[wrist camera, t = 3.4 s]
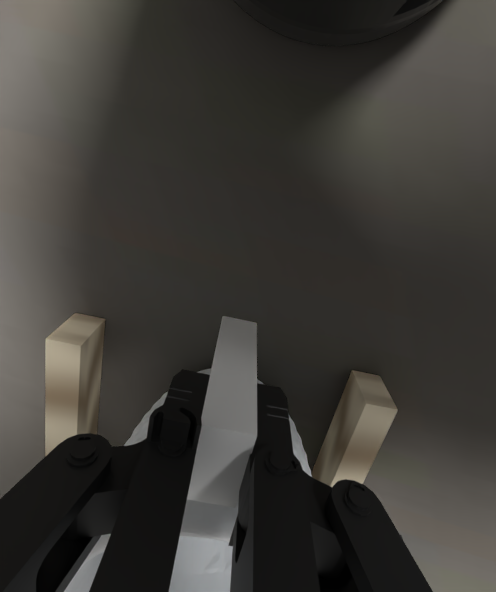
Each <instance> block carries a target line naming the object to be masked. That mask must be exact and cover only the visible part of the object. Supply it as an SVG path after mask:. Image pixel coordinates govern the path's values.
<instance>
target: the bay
mask: <svg viewBox="0 0 496 592" xmlns="http://www.w3.org/2000/svg"><path fill="white" fill-rule="evenodd" d="M104 332H105V319H103V318H98V317H93V316H88V315H84V314H79V313H74V314H73V315H72V316H71V317H70V318H69V319H67V320H66V321H65V322H64V323H63V324H62V325H61V326H59V327H58V328H57V329H56V330H55V331H54V332H53V333H51V334H50V335H49V336H48V337H47V338H46V347H45V457H46V456H47V455H48V454H49V453H50V452H51V451H52V450H53V449H54V448H55V447H56V446H57V445H58V444H60V443H61V442H63V441H64V440H66V439H67V438H69V437H72V436H75V435H78V434H87V433H91V434H96V435H97V426H98V413H99V399H100V386H101V372H102V359H103V345H104ZM397 411H398V409H397V407H396V405H395V403H394V401H393V400H392V398H391V396H390V394H389V392H388V390H387V388H386V387H385V385H384V383H383V381H382V379H381V377H380V376H378V375H373V374H369V373H364V372H359V371H354V370H352V371H351V374H350V376H349V379H348V381H347V384H346V386H345V389H344V392H343V394H342V397H341V399H340V402H339V404H338V407H337V409H336V412H335V414H334V417H333V419H332V422H331V424H330V427H329V430H328V432H327V435H326V437H325V440H324V442H323V445H322V447H321V450H320V452H319V455H318V457H317V460H316V462H315V465H314V467H313V470H312V473H311V475H312V477H313V478H314V479H316V480H318V481H320V482H322V483H325V484H327V485H329V486H331V487H333V486H334V484H335V483H336V482H337V481H340V480H344V479H347V480H354V481H357V482H359V483H361V484H363V482H364V480H365V478H366V476H367V474H368V472H369V470H370V468H371V466H372V463H373V461H374V459H375V457H376V455H377V453H378V451H379V449H380V447H381V445H382V443H383V440H384V438H385V436H386V434H387V432H388V430H389V428H390V426H391V424H392V422H393V420H394V418H395V415H396V413H397Z"/></svg>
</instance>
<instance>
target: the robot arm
mask: <svg viewBox="0 0 496 592" xmlns="http://www.w3.org/2000/svg"><path fill="white" fill-rule="evenodd" d="M234 1H235V2H236V3H237V4H238V5H239V6H240V7H241V8H242V9H243V10H244V11H246V12H247V13H248V14H249V15H250V16H252V17H253V18H254V19H256V20H257V21H258V22H260V23H261V24H263V25H265V26H266V27H268V28H270V29H271V30H273V31H275V32H277V33H279V34H282V35H284V36H286V37H289V38H292V39H295V40H298V41H301V42H306V43H311V44H317V45H329V46H340V45H352V44H358V43H363V42H367V41H372V40H375V39H378V38H381V37H384V36H386V35H389V34H391V33H394V32H396V31H398V30H400V29H402V28H404V27H406V26H408V25H409V24H411V23H413V22H414V21H416V20H418V19H419V18H421V17H422V16H424V15H425V14H426V13H428V12H429V11H431V10H432V9H433V8H434V7H436V6H437V5H438V4H439V3H441V2H442V1H443V0H234ZM238 499H239V504H238V515H237V518H236V521H235V525H234V528H233V531H232V535H231V538H230V542H229V545H228V546H233V551H232V567H231V583H230V592H433V591H432V590H431V588H430V586H429V584H428V583H427V581H426V579H425V577H424V576H423V574H422V572H421V571H420V569H419V567H418V565H417V564H416V562H415V560H414V559H413V557H412V555H411V553H410V552H409V550H408V548H407V547H406V545H405V543H404V541H403V540H402V538H401V536H400V535H399V533H398V531H397V529H396V528H395V526H394V524H393V523H392V521H391V519H390V517H389V516H388V514H387V512H386V511H385V509H384V507H383V505H382V504H381V502H380V501H379V499H378V498H377V497H376V495H375V494H374V493H373V492H372V491H371V490H370V489H368V488H367V487H366V486H365V485H363V484H361V483H359V482H357V481H354V480H347V479H344V480H340V481H337V482H336V483H335V484H334V486H333V487H331V486H329V485H327V484H325V483H322V482H320V481H318V480H316V479H314V478H313V477H311V476H309V475H308V474H307V473H306V472H305V471H303V469H302V466H301V463H300V461H299V460H298V459H297V458H296V456H295V455H294V453H293V445H292V437H291V429H290V421H289V413H288V405H287V398H286V396H285V395H284V393H283V392H282V390H281V389H280V388H279V387H274V386H269V385H264V384H259V383H257V323H255V322H251V321H246V320H241V319H236V318H231V317H227V316H222V321H221V326H220V330H219V335H218V340H217V344H216V349H215V354H214V358H213V363H212V368H211V372H210V375H208V374H203V373H198V372H193V371H188V370H183V369H182V370H181V371H180V372H179V373H178V374H176V375H175V376H174V377H173V380H172V382H171V385H170V388H169V390H168V393H167V396H166V399H165V401H164V404H163V405H162V406H160V407H158V408H157V409H155V410H154V411H153V412H152V414H151V415H150V418H149V425H148V432H147V438H146V439H144V440H143V441H141V442H139V443H136V444H133V445H128V446H119V447H111V445H110V444H109V442H108V440H106V439H105V438H103V437H102V436H100V435H96V434H91V433H87V434H78V435H75V436H72V437H69V438H67V439H66V440H64V441H63V442H61V443H60V444H58V445H57V446H56V447H55V448H54V449H53V450H52V451H51V452H50V453H49V454H48V455H47V456H46V457H45V458H44V459H42V460H41V461H40V462H39V463H38V464H37V465H36V466H35V467H34V468H33V469H32V470H31V471H30V472H29V473H28V474H27V475H25V476H24V477H23V478H22V479H21V480H20V481H19V482H18V483H17V484H16V485H15V486H14V487H13V488H12V489H11V490H10V491H8V492H7V493H6V494H5V495H4V496H3V497H2V498H1V499H0V592H64V591H65V589H66V588H67V586H68V585H69V583H70V582H71V580H72V579H73V577H74V576H75V574H76V573H77V571H78V570H79V568H80V567H81V565H82V564H83V562H84V561H85V560H86V558H87V557H88V555H89V554H90V552H91V551H92V549H93V548H94V546H95V545H96V543H97V542H98V540H99V539H100V537H101V535H106V534H111V535H110V538H109V540H108V543H107V546H106V548H105V551H104V554H103V556H102V559H101V561H100V564H99V567H98V569H97V572H96V575H95V577H94V580H93V583H92V585H91V588H90V591H89V592H169V587H170V582H171V577H172V572H173V567H174V562H175V557H176V552H177V547H178V542H179V537H180V532H181V526H182V521H183V516H184V511H185V506H186V501H187V500H193V501H199V502H205V503H210V504H216V505H222V506H227V507H233V508H236V505H237V502H238Z"/></svg>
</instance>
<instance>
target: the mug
mask: <svg viewBox="0 0 496 592" xmlns="http://www.w3.org/2000/svg"><path fill="white" fill-rule="evenodd" d="M210 372H211V369H205V370H202V371H198V373H203V374H208V375H210ZM257 383H259V384H263V383H262V382H261V381H259V380H258V379H257ZM264 385H265V384H264ZM167 393H168V391H167V392H166V393H164V394H163V395H162V397H161V398H160V399H159V400H158V401H157V402H156V403H155V404H153V406H152V408H151V409H150V410H149V412H147V413H146V414H145V415H144V417H143V419H142V421H141V422H140V423H139V424H138V425H137V426H136V428H135V429H134V431H133V433H132V435H131V437H130V438H129V439H128V440H127V442H126V443H125V444H124V446H128V445H133V444H136V443H139V442H141V441H143V440H144V439H146V438H147V432H148V425H149V418H150V415H151V414H152V412H153V411H154V410H155V409H157V408H158V407H160V406H162V405H163V404H164V401H165V399H166V396H167ZM289 421H290V429H291V437H292V445H293V453H294V455H295V456H296V458H297V459H298V460H299V461H300V463H301V466H302V469H303V471H305V472H306V473H307V474H308V475H309V476H311V477H312V475H311V470H310V468H309V465H308V461H307V454H306V452H305V451H304V448H303V446H302V440H301V438H300V435H299V434H298V432H297V430H296V426H295V424H294V422H293V420H292V419H291V418H290V416H289ZM238 504H239V499H238V502H237V505H236V508H233V507H227V506H222V505H216V504H210V503H205V502H199V501H193V500H187V501H186V506H185V511H184V516H183V521H182V526H181V532H180V537H179V542H178V547H177V552H176V557H175V562H174V567H173V572H172V577H171V582H170V587H169V592H230V583H231V567H232V551H233V546H228V545H229V542H230V538H231V535H232V531H233V528H234V525H235V521H236V518H237V515H238ZM110 535H111V534H106V535H101V537H100V539H99V540H98V542H97V543H96V545H95V546H94V548H93V549H92V551H91V552H90V554H89V555H88V557H87V558H86V560H85V561H84V562H83V564H82V565H81V567H80V568H79V570H78V571H77V573H76V574H75V576H74V577H73V579H72V580H71V582H70V583H69V585H68V586H67V588H66V589H65V591H64V592H89V591H90V588H91V585H92V583H93V580H94V577H95V575H96V572H97V569H98V567H99V564H100V561H101V559H102V556H103V554H104V551H105V548H106V546H107V543H108V540H109V538H110Z"/></svg>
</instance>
